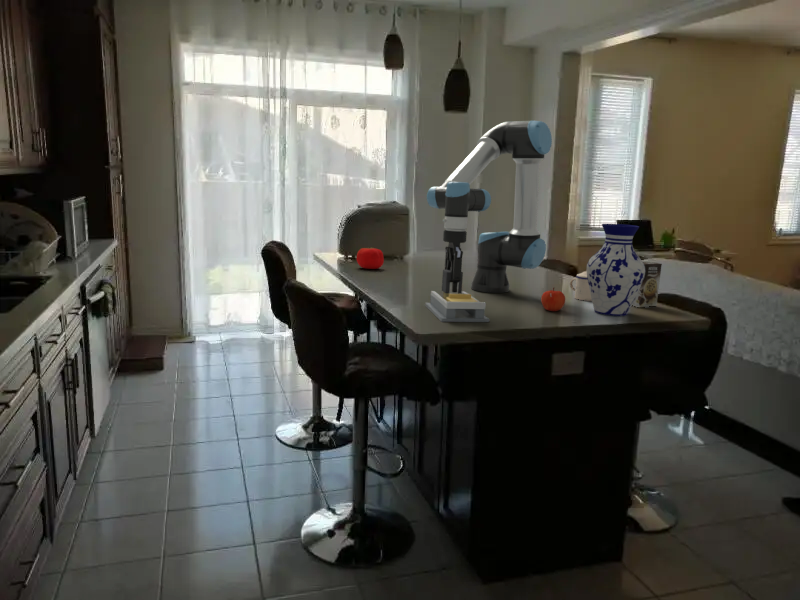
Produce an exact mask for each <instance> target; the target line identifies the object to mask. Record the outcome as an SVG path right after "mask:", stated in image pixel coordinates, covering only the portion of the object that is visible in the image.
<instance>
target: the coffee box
mask: <svg viewBox="0 0 800 600" xmlns="http://www.w3.org/2000/svg"><path fill="white" fill-rule="evenodd" d="M642 262H643V263H644V266H645V276H644V279H643V281H642V284H641V286H640V289H639V291H638V293H637V295H636V297H635V299H634V301H633V304H632V305H633V306H632V307H634V306H636V307H635V308H637V307H645V308H650V307H649V306H656V307H657V304H658V296H659V288H660V280H661V273H662V266H663V264H662V263H660V262H652V261H651V262H650V261H642Z"/></svg>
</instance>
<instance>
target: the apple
mask: <svg viewBox="0 0 800 600" xmlns="http://www.w3.org/2000/svg"><path fill="white" fill-rule="evenodd" d="M540 300H541V304H542V307H543V308H544V309H545V310H546V311H548V312H549V311H550V312H558V311H560V310H561V309H562V308H563V307H564V306H565V304H566V296H565V294H564V293H563V292H562V291H560V290H555V287H553V288H552V289H551V290H546V291H544V292H543V294H542V295H541V298H540Z"/></svg>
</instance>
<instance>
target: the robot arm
mask: <svg viewBox="0 0 800 600" xmlns="http://www.w3.org/2000/svg"><path fill="white" fill-rule="evenodd" d="M552 140H553V139H552V131H551V130H550V128H549V126H548V124H547V123H546V122H544V121H542V120H534V119H533V120H519V121H518V120H517V121H516V120H515V121H504V122H501V123H498V124H497V125H494V127H492V128H490V129H489V130H488V131H486V132H485V133H484V134H483V135H482V136H481V137H480V138H479V139H478V140H477V143H476V146H475V148H473V149H472V151H471V152H470V153H469V154H468V155H467V156H466V157H465V158H464V160H463V161H462V162H461V163H460V164H459V165H458V166H457V167H456V168H455V169H454V171H453V172H452V173H451V174H450V175H449V176H448V177H447V178H446V179H445V181H443V183H442V184H441V185H439V186H438V185H436V186H431V187H430V188H429V189H428V191H427V193H426V201H427V204H428V206H429V207H431V208H433V209H439V210H444V218H443V219H442V223H443V225H444V226H443V228H444V230H443V235H442V239H443V240H442V241H443V242H446V243H448V245H447V246H445V255H444V257H445V259H444V269H443V270H450V269H451V280H449V282H450V290H449V294H458V284H459V281H461V272H462V265H463V264H462V263H463V254H464V251H463V250H462V248H461V244H464V243H466V242H467V235H468V233H467V229H468V223H469V222H468V221H469V216H468V214H469V212H478V213H479V212H484V211H487V209H489V208H490V206H491V205H492V204H491V203H492V197H491V194H490V192H489V191H488V190H486V189H482V188H471V184H472V183H474V181H475V180H476V179H477V178H478V177H479V175H480V174H481V173H482V172H483V171H484V170H485V168H487V167H488V165H489V164H490V163H491V162H492V161H494V160H496V159H498V158H499V157H500V156H501V155H506V154H511V155H512V156H511V159H512V160H513V161H514V162H515V181H514V203H513V204H514V206H513V208H514V209H513V210H514V211H513V227H512V229H510V231H495V232H491V231H490V232H482V233H480V234H479V238H478V243H477V259H476V262H477V263H476V271H475V273H474V276H473V279H472V280H471V285H470V289H471V290H474V291H476V292H477V291H478V292H483V293H494V294H495V293H496V294H497V293H499V294H503V293H509V292H510V281H509V277H508V274H507V267H513V268H514V267H515V268H521V269H530V270H535V269H537V268H538V267H539V266H540V265H541V263H542V262H543V260H544V259H545V255H546V251H547V245H546V242H545V240H544V239H543V238H541V232H540V231H539V230H538V228H537V226H538V223H537V222H538V208H539V203H538V202H539V190H540V189H539V188H540V187H539V186H540V185H539V184H540V170H541V169H540V165H541V163H542V162H543V161H544V160H545V155H547V154H549V152H550V151H551V147H552V144H553V141H552ZM455 277H457V278H455Z"/></svg>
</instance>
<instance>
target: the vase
mask: <svg viewBox="0 0 800 600" xmlns="http://www.w3.org/2000/svg"><path fill="white" fill-rule="evenodd" d="M601 226H602V228H603V231H604V237H605V240H604V244H603V245H602V246H601V248H600V249H599V250H598V251H596V253H594V255H592V256H591V257H590V258H589V260H588V262H587V264H586V270H587V278H588V284H589V289H590V293H591V298H592V301H591V303H592V307H593V310H594V313H597V314H599V315H605V316H612V317H624V316H628V314H629V312H630V310H631V307H633V306H632V304H633V301H634V299H635V297H636V295H637V293H638V291H639V289H640V286H641V284H642V281H643V279H644V276H645V266H644V263H643V262H644V261H643V260H642V259H641V258H640V257H639V255H638V254H637V252H636V251H635V249H634V246H633V238H634V236H635V234H636V232H638V230H639V228H640V226H638V225H632V224H623V223H622V224H621V223H620V224H619V223H601Z"/></svg>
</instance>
